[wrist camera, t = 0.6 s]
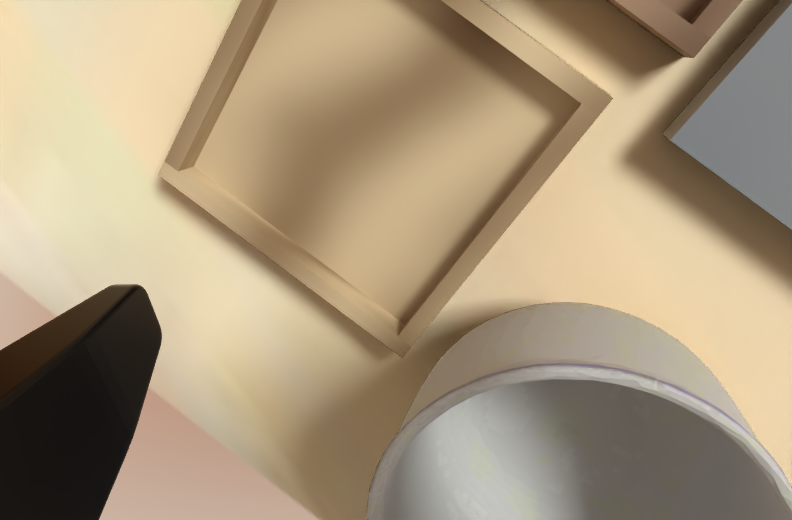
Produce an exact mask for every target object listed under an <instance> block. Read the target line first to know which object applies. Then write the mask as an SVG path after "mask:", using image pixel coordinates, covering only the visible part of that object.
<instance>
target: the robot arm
mask: <svg viewBox="0 0 792 520" xmlns="http://www.w3.org/2000/svg"><path fill="white" fill-rule="evenodd" d="M161 340H162V333H161V328H160V325H159V322H158V320H157V317H156V314H155V312H154V309H153V307H152V304H151V302H150V299H149V297H148V294H147V292H146V290H145V289H144V288H143V287H142V286H140V285H136V284H131V285H111V286H109V287H107V288H105V289H104V290H102V291H100V292H99V293H97V294H95V295H93V296H92V297H90V298H88V299H87V300H85V301H83V302H82V303H80V304H78V305H76V306H75V307H73V308H71V309H70V310H68V311H66V312H65V313H63V314H61V315H59V316H58V317H56V318H54V319H53V320H51V321H49V322H48V323H46V324H44V325H42V326H41V327H39V328H37V329H36V330H34V331H32V332H30V333H29V334H27V335H25V336H24V337H22V338H21V339H19V340H17V341H16V342H14V343H12V344H10V345H8V346H7V347H5V348H3V349H2V350H0V520H99V518H100V516H101V513H102V511H103V508H104V506H105V504H106V501H107V499H108V497H109V494H110V492H111V489H112V487H113V485H114V482H115V480H116V478H117V475H118V473H119V470H120V468H121V466H122V463H123V461H124V459H125V456H126V454H127V451H128V449H129V446H130V444H131V441H132V439H133V436H134V433H135V429H136V427H137V424H138V420H139V417H140V413H141V410H142V407H143V403H144V400H145V397H146V393H147V390H148V387H149V383H150V380H151V376H152V373H153V370H154V366H155V363H156V360H157V356H158V353H159V349H160V346H161Z"/></svg>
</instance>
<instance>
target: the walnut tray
mask: <svg viewBox="0 0 792 520" xmlns="http://www.w3.org/2000/svg"><path fill="white" fill-rule="evenodd" d="M607 1H608V2H610V3H611V4H612V5H614V6H615V7H616V8H618V9H619V10H620V11H622V12H623V13H625V14H626V15H627V16H629V17H630V18H631V19H633V20H634V21H636V22H637V23H638V24H640V25H641V26H642V27H644V28H645V29H647V30H648V31H649V32H651V33H652V34H653V35H655V36H656V37H657V38H659V39H660V40H662V41H663V42H664V43H666V44H667V45H668V46H670V47H671V48H673V49H674V50H675V51H677V52H678V53H679V54H681V55H682V56H683V57H689V58H694V57H695V56H696V55H697V53H698V52H699V51H700V50H701V49H702V48H703V46H704V45H705V44H706V43H707V42H708V40H709V39H710V38H711V37H712V36H713V35H714V33H715V32H716V31H717V30H718V29H719V28H720V26H721V25H722V24H723V23H724V22H725V20H726V19H727V18H728V17H729V16H730V15H731V13H732V12H733V11H734V10H735V9H736V8H737V6H738V5H739V4H740V3H741V2H742V0H607Z"/></svg>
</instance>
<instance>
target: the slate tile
mask: <svg viewBox="0 0 792 520" xmlns="http://www.w3.org/2000/svg"><path fill="white" fill-rule="evenodd" d="M663 134H664V135H665V136H666V137H667V138H668V139H669V140H670V141H671V142H673V143H674V144H675V145H677V146H678V147H680V148H681V149H682V150H684V151H685V152H686V153H688V154H689V155H690V156H692V157H693V158H695V159H696V160H697V161H699V162H700V163H701V164H703V165H704V166H705V167H707V168H708V169H710V170H711V171H712V172H714V173H715V174H716V175H718V176H719V177H720V178H722V179H723V180H724V181H726V182H727V183H729V184H730V185H731V186H733V187H734V188H735V189H737V190H738V191H739V192H741V193H742V194H744V195H745V196H746V197H748V198H749V199H750V200H752V201H753V202H754V203H756V204H757V205H759V206H760V207H761V208H763V209H764V210H765V211H767V212H768V213H769V214H771V215H772V216H774V217H775V218H776V219H778V220H779V221H780V222H782V223H783V224H784V225H786V226H787V227H788V228H790V229H791V230H792V0H779V1H778V3H777V4H776V5H775V6H774V7H773V8H772V9H771V11H770V12H769V13H768V14H767V15H766V16H765V17H764V19H763V20H762V21H761V22H760V23H759V24H758V25H757V27H756V28H755V29H754V30H753V31H752V32H751V33H750V35H749V36H748V37H747V38H746V39H745V40H744V41H743V43H742V44H741V45H740V46H739V47H738V48H737V49H736V51H735V52H734V53H733V54H732V55H731V56H730V57H729V58H728V60H727V61H726V62H725V63H724V64H723V65H722V66H721V68H720V69H719V70H718V71H717V72H716V73H715V74H714V76H713V77H712V78H711V79H710V80H709V81H708V82H707V84H706V85H705V86H704V87H703V88H702V89H701V90H700V92H699V93H698V94H697V95H696V96H695V97H694V98H693V100H692V101H691V102H690V103H689V104H688V105H687V106H686V108H685V109H684V110H683V111H682V112H681V113H680V114H679V116H678V117H677V118H676V119H675V120H674V121H673V122H672V123H671V125H670V126H669V127H668V128H667V129H666V130H665V131H664V133H663Z"/></svg>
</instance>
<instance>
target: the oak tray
mask: <svg viewBox="0 0 792 520" xmlns="http://www.w3.org/2000/svg"><path fill="white" fill-rule="evenodd" d="M612 99H613V98H612V97H611V96H610V95H609V94H608V93H607V92H605V91H604V90H603V89H601V88H600V87H599V86H597V85H596V84H594V83H593V82H592V81H590V80H589V79H588V78H586V77H585V76H584V75H582V74H581V73H580V72H578V71H577V70H575V69H574V68H573V67H571V66H570V65H569V64H567V63H566V62H565V61H563V60H562V59H560V58H559V57H558V56H556V55H555V54H554V53H552V52H551V51H550V50H548V49H547V48H545V47H544V46H543V45H541V44H540V43H539V42H537V41H536V40H535V39H533V38H532V37H530V36H529V35H528V34H526V33H525V32H524V31H522V30H521V29H520V28H518V27H517V26H515V25H514V24H513V23H511V22H510V21H509V20H507V19H506V18H505V17H503V16H502V15H501V14H499V13H498V12H496V11H495V10H494V9H492V8H491V7H490V6H488V5H487V4H486V3H484V2H483V1H481V0H242V1H241V3H240V5H239V7H238V9H237V11H236V13H235V15H234V17H233V19H232V22H231V24H230V26H229V28H228V30H227V32H226V34H225V36H224V38H223V40H222V42H221V45H220V47H219V49H218V51H217V53H216V55H215V57H214V59H213V61H212V63H211V66H210V68H209V70H208V72H207V74H206V76H205V78H204V80H203V82H202V84H201V86H200V89H199V91H198V93H197V95H196V97H195V99H194V101H193V103H192V105H191V107H190V110H189V112H188V114H187V116H186V118H185V120H184V122H183V124H182V126H181V128H180V130H179V133H178V135H177V137H176V139H175V141H174V143H173V145H172V147H171V149H170V151H169V154H168V156H167V158H166V160H165V162H164V164H163V166H162V168H161V170H160V172H159V174H158V175H159V176H161V177H162V178H163V179H165V180H166V181H167V182H169V183H170V184H171V185H173V186H174V187H175V188H177V189H178V190H179V191H181V192H182V193H183V194H185V195H186V196H187V197H188V198H190V199H191V200H192V201H194V202H195V203H196V204H198V205H199V206H200V207H202V208H203V209H204V210H206V211H207V212H208V213H210V214H211V215H212V216H214V217H215V218H216V219H218V220H219V221H220V222H222V223H223V224H224V225H226V226H227V227H228V228H230V229H231V230H232V231H234V232H235V233H236V234H238V235H239V236H240V237H242V238H243V239H244V240H246V241H247V242H248V243H250V244H251V245H252V246H254V247H255V248H256V249H258V250H259V251H260V252H262V253H263V254H264V255H266V256H267V257H268V258H270V259H271V260H272V261H274V262H275V263H276V264H278V265H279V266H280V267H282V268H283V269H284V270H286V271H287V272H288V273H290V274H291V275H292V276H294V277H295V278H296V279H298V280H299V281H300V282H302V283H303V284H304V285H306V286H307V287H308V288H310V289H311V290H312V291H314V292H315V293H316V294H318V295H319V296H320V297H322V298H323V299H324V300H326V301H327V302H328V303H330V304H331V305H332V306H334V307H335V308H336V309H338V310H339V311H340V312H342V313H343V314H344V315H346V316H347V317H348V318H350V319H351V320H352V321H354V322H355V323H356V324H358V325H359V326H360V327H362V328H363V329H364V330H366V331H367V332H368V333H370V334H371V335H372V336H374V337H375V338H376V339H378V340H379V341H380V342H382V343H383V344H384V345H386V346H387V347H388V348H390V349H391V350H392V351H394V352H395V353H396V354H398V355H399V356H400V357H402V358H403V356H404V355H405V354H406V353H407V351H408V350H409V349H410V348H411V346H412V345H413V344H414V343H415V342H416V340H417V339H418V338H419V337H420V335H421V334H422V333H423V332H424V330H425V329H426V328H427V327H428V326H429V324H430V323H431V322H432V321H433V319H434V318H435V317H436V316H437V314H438V313H439V312H440V311H441V310H442V308H443V307H444V306H445V305H446V303H447V302H448V301H449V300H450V298H451V297H452V296H453V295H454V294H455V292H456V291H457V290H458V289H459V287H460V286H461V285H462V284H463V282H464V281H465V280H466V279H467V277H468V276H469V275H470V274H471V273H472V271H473V270H474V269H475V268H476V266H477V265H478V264H479V263H480V261H481V260H482V259H483V258H484V257H485V255H486V254H487V253H488V252H489V250H490V249H491V248H492V247H493V245H494V244H495V243H496V242H497V241H498V239H499V238H500V237H501V236H502V234H503V233H504V232H505V231H506V229H507V228H508V227H509V226H510V225H511V223H512V222H513V221H514V220H515V218H516V217H517V216H518V215H519V213H520V212H521V211H522V210H523V209H524V207H525V206H526V205H527V204H528V202H529V201H530V200H531V199H532V197H533V196H534V195H535V194H536V193H537V191H538V190H539V189H540V188H541V186H542V185H543V184H544V183H545V181H546V180H547V179H548V178H549V177H550V175H551V174H552V173H553V172H554V170H555V169H556V168H557V167H558V165H559V164H560V163H561V162H562V161H563V159H564V158H565V157H566V156H567V154H568V153H569V152H570V151H571V149H572V148H573V147H574V146H575V145H576V143H577V142H578V141H579V140H580V138H581V137H582V136H583V135H584V133H585V132H586V131H587V130H588V129H589V127H590V126H591V125H592V124H593V122H594V121H595V120H596V119H597V117H598V116H599V115H600V114H601V113H602V111H603V110H604V109H605V108H606V106H607V105H608V104H609V103H610V101H611V100H612Z"/></svg>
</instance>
